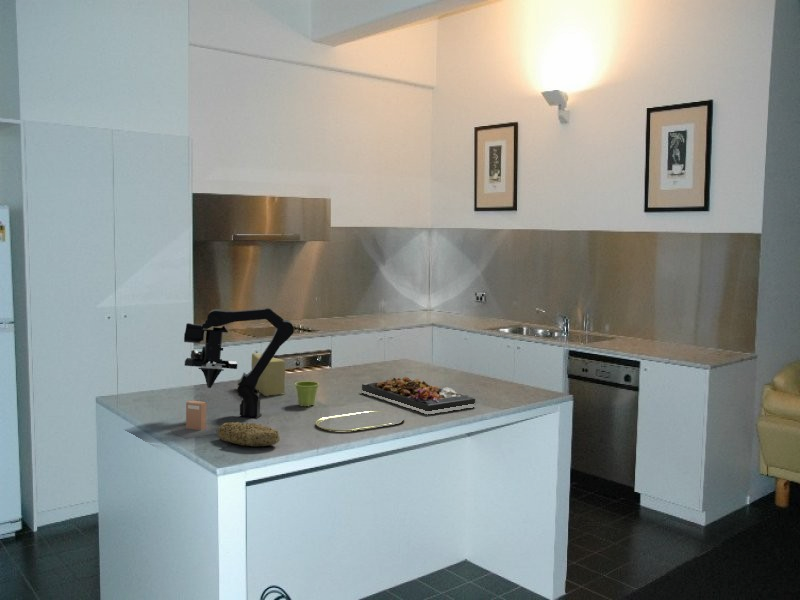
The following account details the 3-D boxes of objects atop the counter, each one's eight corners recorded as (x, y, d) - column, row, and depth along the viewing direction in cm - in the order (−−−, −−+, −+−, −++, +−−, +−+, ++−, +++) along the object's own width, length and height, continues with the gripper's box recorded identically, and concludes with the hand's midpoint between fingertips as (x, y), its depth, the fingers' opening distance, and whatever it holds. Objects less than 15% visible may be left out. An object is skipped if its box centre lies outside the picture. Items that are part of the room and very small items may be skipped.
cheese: (242, 387, 323) (242, 353, 322) (262, 385, 329) (263, 351, 328) (264, 397, 305) (264, 361, 304) (285, 394, 311) (286, 359, 310)
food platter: (474, 409, 298) (476, 384, 297) (427, 416, 283) (428, 390, 282) (406, 388, 334) (407, 366, 333) (361, 394, 319) (362, 370, 318)
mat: (165, 429, 251) (165, 427, 251) (198, 424, 259) (198, 422, 259) (185, 440, 239) (185, 438, 239) (219, 434, 247) (219, 433, 247)
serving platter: (306, 424, 265) (306, 420, 265) (385, 413, 286) (385, 409, 286) (333, 436, 250) (333, 432, 250) (415, 424, 271) (415, 419, 271)
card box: (191, 426, 254) (191, 400, 254) (206, 428, 252) (206, 402, 252) (185, 428, 252) (186, 402, 251) (200, 430, 250) (201, 404, 249)
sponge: (213, 446, 238) (251, 446, 225) (214, 421, 239) (252, 420, 226) (246, 446, 248) (285, 446, 235) (247, 422, 249) (285, 421, 236)
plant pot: (300, 408, 287) (301, 386, 286) (290, 403, 294) (290, 382, 294) (322, 406, 292) (322, 384, 291) (311, 401, 300) (312, 380, 299)
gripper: (222, 345, 279) (218, 387, 277) (178, 341, 265) (174, 385, 264) (240, 346, 271) (236, 389, 270) (195, 342, 257) (190, 387, 256)
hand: (209, 387), depth 265 cm, fingers closed
